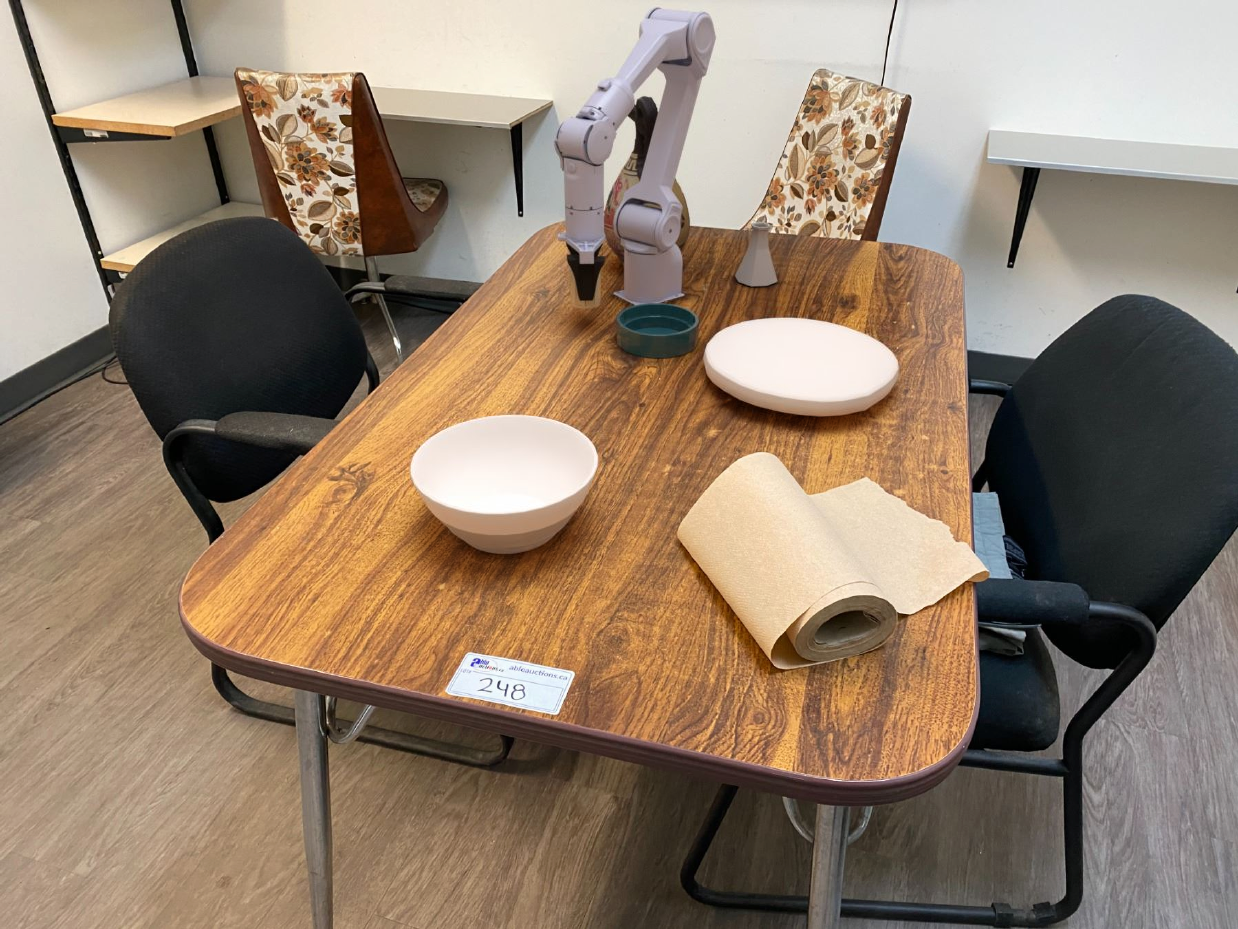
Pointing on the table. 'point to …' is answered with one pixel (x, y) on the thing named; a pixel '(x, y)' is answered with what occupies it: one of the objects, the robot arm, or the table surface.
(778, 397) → the plate
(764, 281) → the flask
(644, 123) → the ceramic jug
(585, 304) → the cup
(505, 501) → the bowl
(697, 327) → the teal bowl
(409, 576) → the table surface
